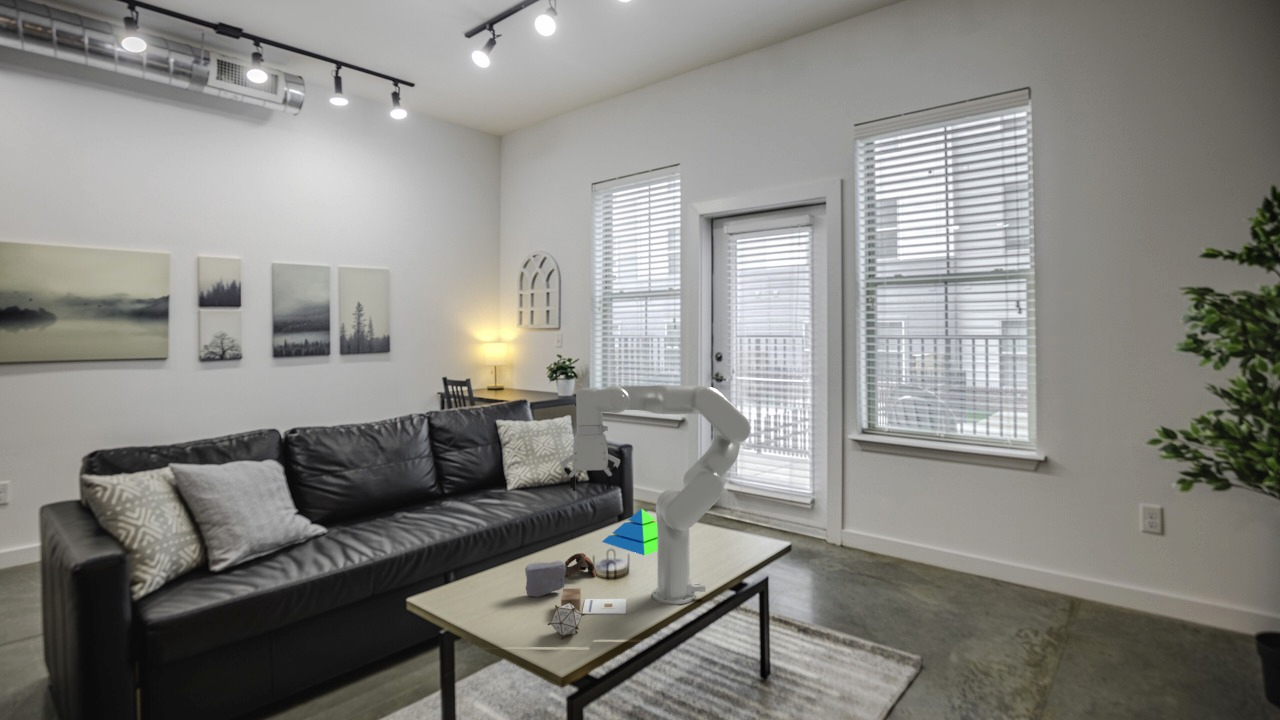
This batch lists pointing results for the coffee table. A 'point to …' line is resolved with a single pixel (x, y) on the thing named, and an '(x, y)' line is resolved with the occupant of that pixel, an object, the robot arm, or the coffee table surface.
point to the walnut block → (572, 597)
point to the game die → (566, 619)
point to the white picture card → (604, 606)
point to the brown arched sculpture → (579, 564)
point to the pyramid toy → (636, 534)
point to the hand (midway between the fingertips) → (591, 489)
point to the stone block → (544, 577)
